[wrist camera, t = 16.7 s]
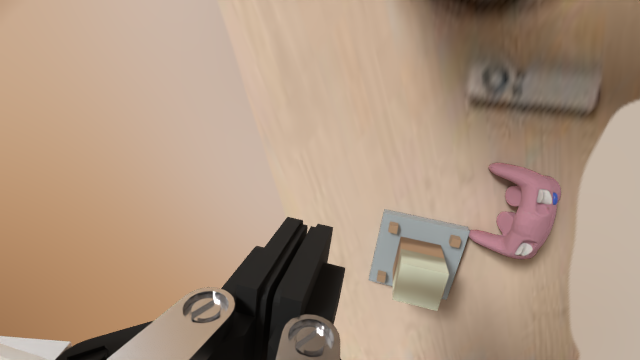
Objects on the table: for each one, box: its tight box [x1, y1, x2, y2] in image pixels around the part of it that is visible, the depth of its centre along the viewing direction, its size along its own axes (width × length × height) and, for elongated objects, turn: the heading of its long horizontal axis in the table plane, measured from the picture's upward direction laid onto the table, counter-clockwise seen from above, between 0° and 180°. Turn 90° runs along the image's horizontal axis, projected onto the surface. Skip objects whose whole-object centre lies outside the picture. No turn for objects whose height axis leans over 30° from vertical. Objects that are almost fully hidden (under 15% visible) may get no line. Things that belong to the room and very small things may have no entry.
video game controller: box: [469, 163, 561, 259], centre depth 33 cm, size 10×5×7 cm, turn 173°
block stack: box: [393, 236, 449, 311], centre depth 36 cm, size 5×5×6 cm
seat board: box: [369, 209, 470, 300], centre depth 39 cm, size 10×10×2 cm
